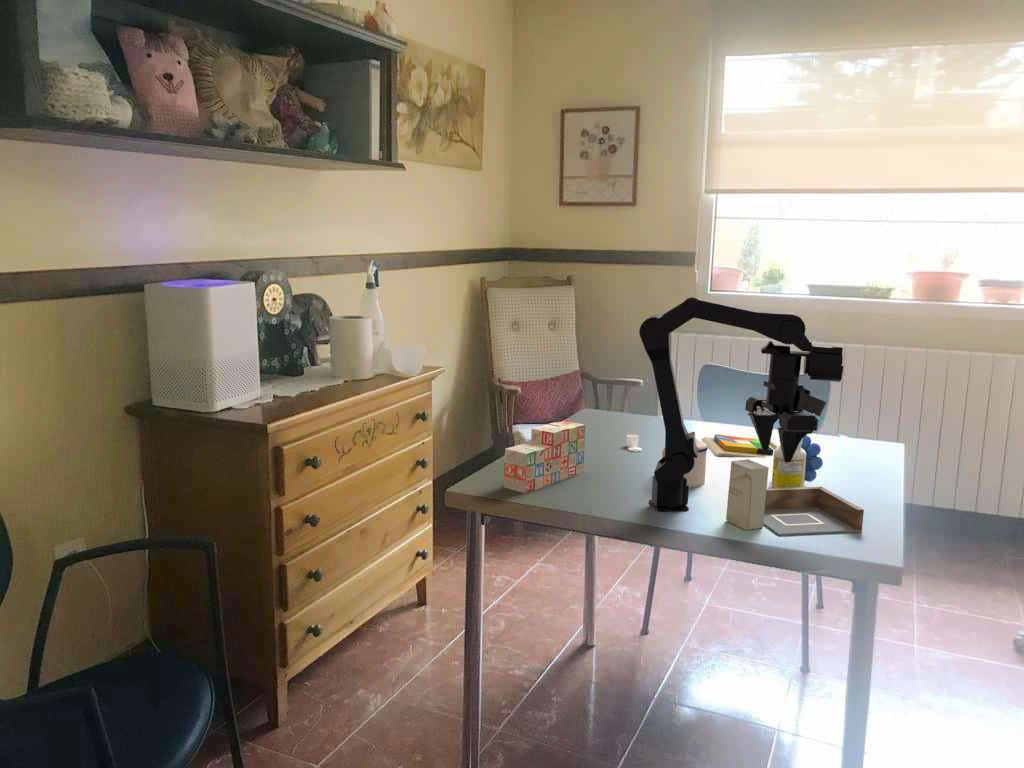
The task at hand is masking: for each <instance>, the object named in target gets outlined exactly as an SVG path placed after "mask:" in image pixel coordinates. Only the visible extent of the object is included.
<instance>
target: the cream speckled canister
mask: <svg viewBox="0 0 1024 768" xmlns="http://www.w3.org/2000/svg"><path fill="white" fill-rule="evenodd" d="M688 433H691V432H690V431H688ZM695 443H696V446H697V447H698V449H699V451H698V456H697V458H695V463H694V467H693V469H692V470H691V471H690V472H689V473H687V474H684V477H685V478H686V479H687V485H688V486H689V488H697V487H701V486H704V485H705V483H706V465H707V452H708V451H707V450H709V448H708V447H707V444H706V443H704V442H703V441H702V440H699V439H698V438H696V437H695ZM664 456H665V447H663V449H662V451H661V459H662V458H663V457H664Z"/></svg>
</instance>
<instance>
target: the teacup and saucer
mask: <svg viewBox="0 0 1024 768" xmlns="http://www.w3.org/2000/svg"><path fill="white" fill-rule="evenodd" d="M639 439H640V436H639V435H638V434H632V433H631V434H627V435H626V448H627V451H628V450H629V451H628V452H631V451H634V452H633V453H639V452H638V451H641V452H642V451H643V448H642V447H638V445H639ZM629 447H630V448H629Z"/></svg>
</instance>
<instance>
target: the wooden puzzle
mask: <svg viewBox="0 0 1024 768" xmlns="http://www.w3.org/2000/svg"><path fill="white" fill-rule="evenodd" d="M700 441H702V442H704V443H706V444H707V447H708V450H709V451H710V452H711V453H712V455H713V456H714V457H733V458H734V457H735V458H766V456H774V450H775V449H776V448H777V447H779V446H778V445H777V444H775V443H774V441H771V440H770V445H769V448H768V450H763V449H762V447H761V444H760V441H759V439H758V438H752V437H743V436H742V437H741V436H733V435H725V434H714V436H713V437H710V436H709V437H707V436H706V437H702V438H701V440H700Z"/></svg>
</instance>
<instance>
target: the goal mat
mask: <svg viewBox="0 0 1024 768" xmlns="http://www.w3.org/2000/svg"><path fill="white" fill-rule="evenodd" d="M763 526H764V527H766V528H767V529H768V530H770V532H773V533H774V535H777V536H778V537H785V536H786V537H787V536H802V535H803V536H804V535H809V536H810V535H823V534H825V535H829V534H847V533H848V534H849V533H862V532H863V529H862V530H855V529H853V528H852V527H850V526H848V525H847V524H845V523H843V522H842V521H840V520H838V519H837V518H835V517H833V516H832V515H830V514H828V513H826V512H825V511H823V510H821V509H820V508H818V507H811V508H787V509H764V519H763Z"/></svg>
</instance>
